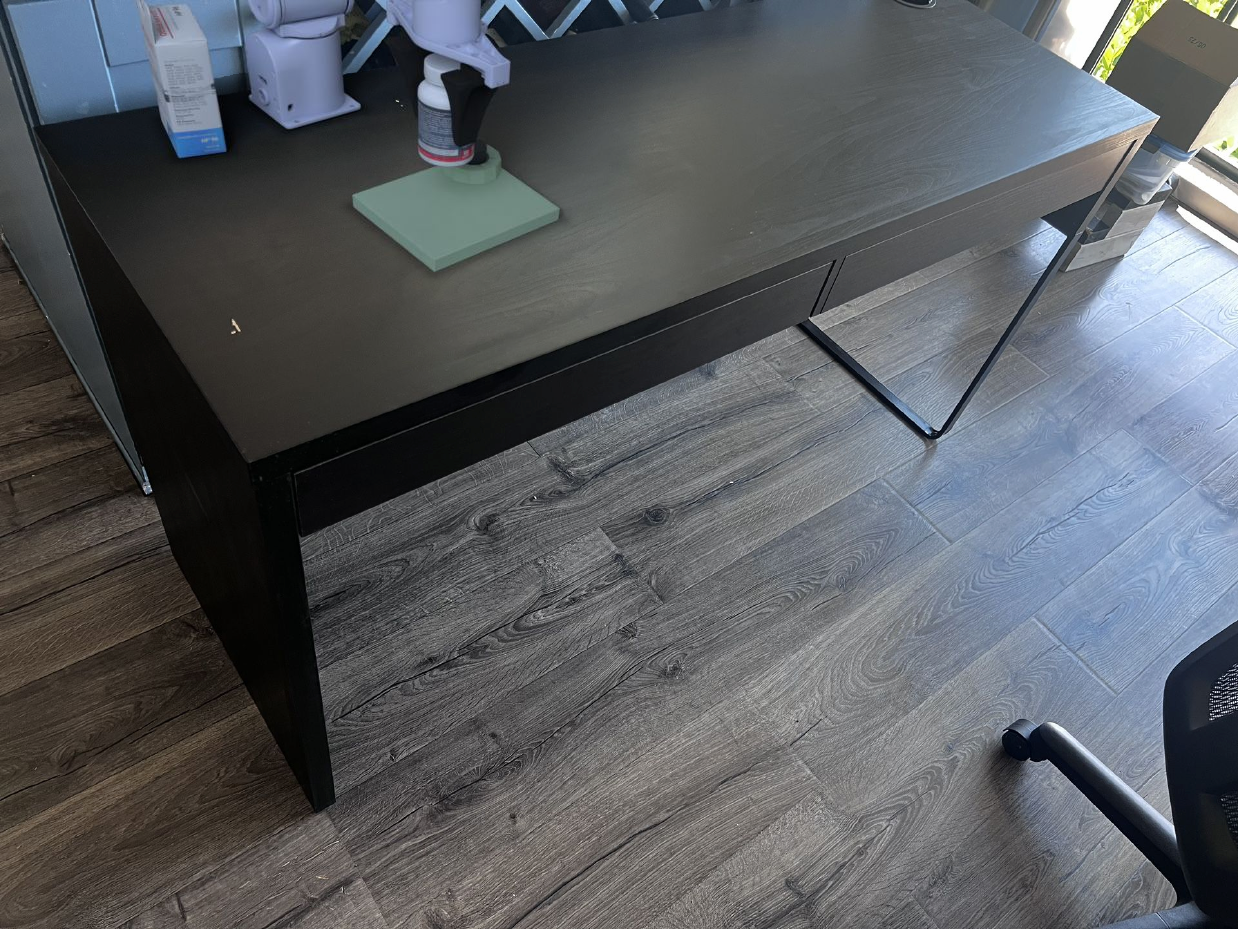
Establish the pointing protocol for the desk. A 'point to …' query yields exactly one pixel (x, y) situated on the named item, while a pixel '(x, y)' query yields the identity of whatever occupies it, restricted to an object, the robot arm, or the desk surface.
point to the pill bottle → (438, 117)
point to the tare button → (479, 153)
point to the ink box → (182, 78)
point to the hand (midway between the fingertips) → (445, 129)
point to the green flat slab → (455, 210)
